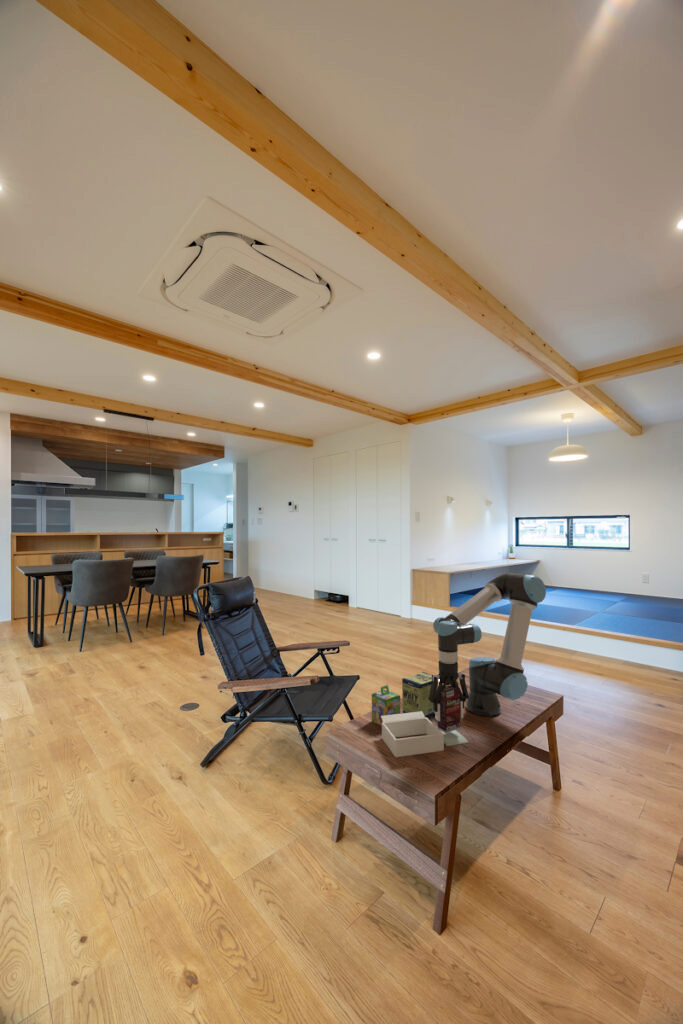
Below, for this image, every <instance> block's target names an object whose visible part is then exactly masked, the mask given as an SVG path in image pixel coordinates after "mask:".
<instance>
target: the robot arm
mask: <svg viewBox="0 0 683 1024" xmlns="http://www.w3.org/2000/svg"><path fill="white" fill-rule="evenodd" d="M546 594H547V587H546V586H545V583H544V581H543V580H542V578H540V577H539V576H536V575H532V574H525V573H524V574H523V573H514V572H507V573H503V574H500V575H499V576H496V577H495V578H493V579H491V580H490V581H489V582H487V583H485V584H484V587H483V588H482V589H481V590H480V591H479V592H477V593H476V594H475V595H474V596H472V597H471V598H469V599H468V600H467V601H466V602H464V603H463V604H461V605H460V606H459V607H457V608H456V609H455V610H453V611H452V612H451V613H450V614H448V615H447V616H445V617H437V618H436V619H435V620H434V621H433V625H432V626H433V630H434V632H435V633H436V634H437V638H438V639H437V642H438V643H437V644H438V645H437V646H438V674H437V675H435V674H432V684H431V689H430V694H429V698H428V699H429V701H430V702H432V703H433V710H434V711H435V715H434V716H435V717H434V718H435V720H437V722H438V721H440V704H439V703H438V702H439V700H440V697H441V690H444V688H445V687H446V686H449V685H453V686H454V687H455V688H456V689H459V695H460V719H464V709H465V708H466V710H467V709H468V710H469V712H470V711H471V712H470V713H472V712H473V713H472V714H474V713H476V714H475V715H477V714H479V715H478V716H482V715H484V716H483V717H494V716H493V715H496V716H498V715H500V714H501V713H500V712H502V709H501V707H502V706H501V704H500V701H499V698H498V696H497V695H499V696H501V697H502V698H506V699H509V700H510V701H511V700H512V701H516V700H519V699H521V698H522V697H523V696H524V695H525V693H526V692H527V689H528V679H527V677H526V676H525V674H524V671H525V668H524V667H523V666H522V661H523V656H524V652H525V646H526V643H527V638H528V633H529V628H530V622H531V617H532V614H533V610H536V609H537V608H538V604H539V603H542V602H543V601H544V600H545V598H546ZM507 598H508V601H509V603H510V604H511V607H510V611H509V615H508V620H507V625H506V629H505V635H504V640H503V644H502V649H501V653H500V657H499V658H497V659H495V658H494V657H488V656H479V657H478V656H477V657H473V658H470V660H469V661H468V662H469V663H468V673H469V674H468V677H469V680H468V681H469V690H468V688H467V685H466V683H467V682H466V675H465V674H464V673H463V672H459V662H458V661H459V659H458V658H459V657H458V656H459V655H458V652H459V651H458V645H459V646H461V645H467V644H468V645H469V644H474V643H478V642H479V641H481V639H482V636H483V635H482V630H481V627H480V626H479V625H477V624H476V623H470V622H471V621H472V620H473V619H475V618H476V617H477V616H479V615H480V614H481V613H482V612H483V611H485V610H486V609H488V608H489V607H491V605H493V604H494V603H495V602H496V603H497V602H500V601H501V600H503V599H507ZM468 623H469V624H468ZM458 672H459V673H458ZM438 679H440V682H439V686H438V688H439V690H438V688H437V683H438ZM457 680H459V683H458V681H457ZM459 685H460V686H459ZM436 689H437V691H436ZM468 710H467V711H468ZM499 713H500V714H499ZM497 714H498V715H497Z"/></svg>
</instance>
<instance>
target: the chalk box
mask: <svg viewBox="0 0 683 1024" xmlns="http://www.w3.org/2000/svg"><path fill="white" fill-rule="evenodd" d="M394 714H401V696H400V695H399V694H397V693H395V692H393V691H390V690H389V684H385V685H383V686H381V687H380V691H377V692H376V691H375V692H374V693H372V694H371V722H373V723H375V724H376V725H379V726H380V727H382V723H383V721H382V718H381V716H385V715H394Z"/></svg>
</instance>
